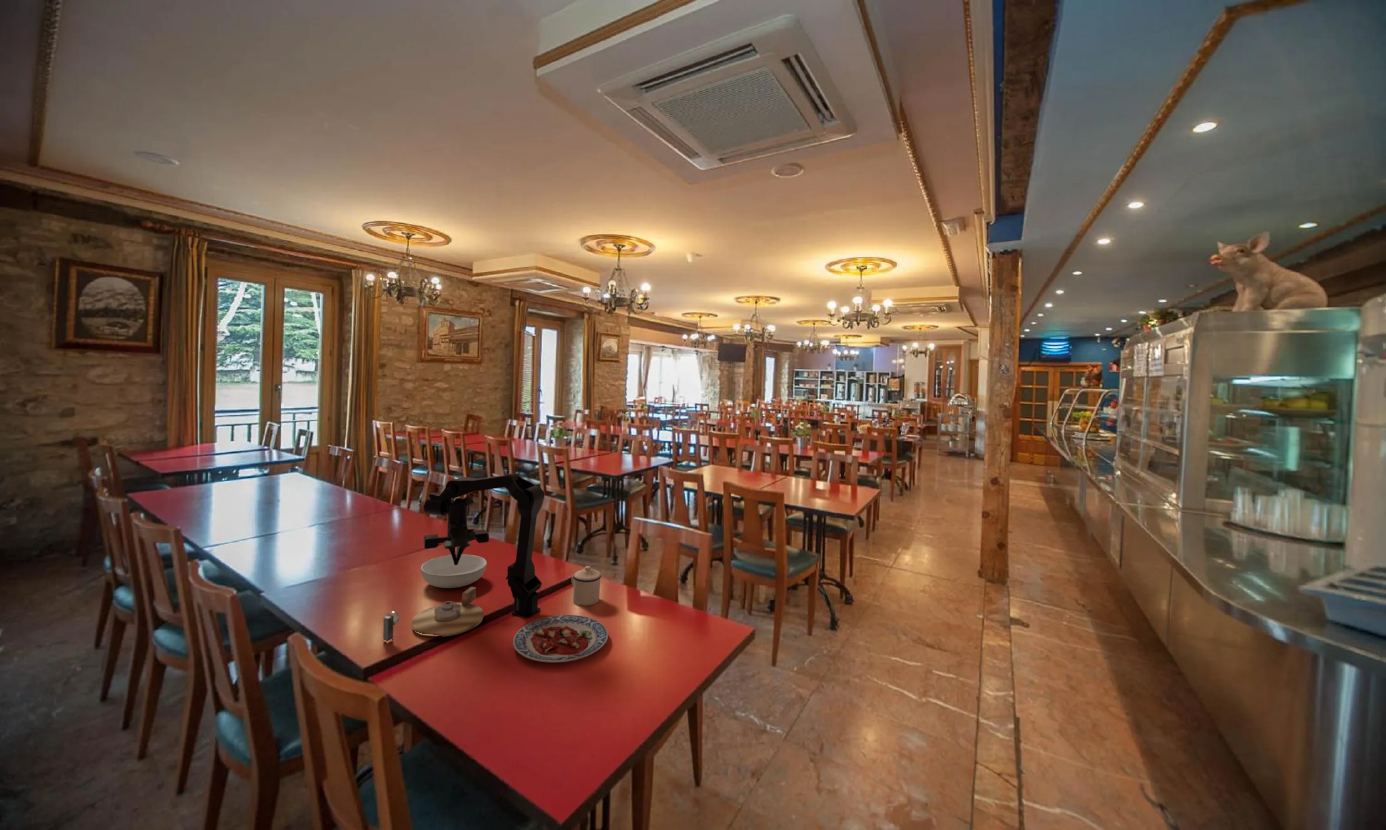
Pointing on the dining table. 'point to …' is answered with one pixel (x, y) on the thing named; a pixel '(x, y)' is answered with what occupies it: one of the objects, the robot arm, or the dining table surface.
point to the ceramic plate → (560, 638)
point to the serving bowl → (453, 571)
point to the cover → (447, 612)
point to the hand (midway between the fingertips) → (455, 564)
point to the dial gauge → (390, 625)
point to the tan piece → (465, 622)
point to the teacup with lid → (586, 586)
